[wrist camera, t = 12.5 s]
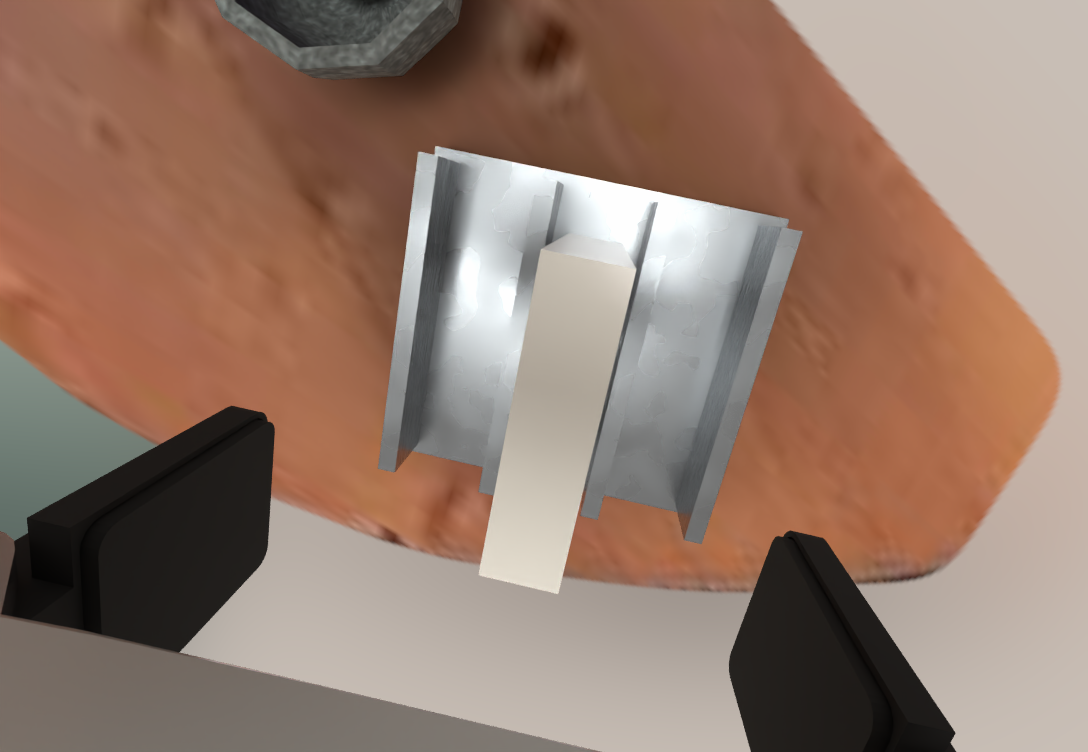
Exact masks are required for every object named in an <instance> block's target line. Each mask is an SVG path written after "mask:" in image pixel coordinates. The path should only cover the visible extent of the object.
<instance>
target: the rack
mask: <svg viewBox="0 0 1088 752" xmlns="http://www.w3.org/2000/svg"><path fill="white" fill-rule="evenodd" d="M788 222H789V219H785V218H780V217H775V216H770V215H765V214H761V213H756V212H751V211H746V210H741V209H737V208H732V207H727V206H722V205H717V204H712V203H708V202H703V201H698V200H693V199H688V198H684V197H679V196H674V195H669V194H664V193H660V192H655V191H650V190H645V189H640V188H635V187H631V186H626V185H621V184H616V183H611V182H607V181H602V180H597V179H592V178H587V177H583V176H578V175H573V174H568V173H563V172H558V171H554V170H549V169H544V168H539V167H534V166H530V165H525V164H520V163H515V162H510V161H506V160H501V159H496V158H491V157H486V156H481V155H477V154H472V153H467V152H462V151H457V150H453V149H448V148H443V147H438V146H436V147H435V154H434V155H432V154H428V153H423V152H418V158H417V166H416V174H415V182H414V190H413V198H412V206H411V213H410V221H409V229H408V237H407V245H406V253H405V261H404V268H403V276H402V284H401V292H400V300H399V308H398V316H397V323H396V331H395V339H394V347H393V355H392V363H391V371H390V379H389V386H388V394H387V402H386V410H385V418H384V426H383V434H382V441H381V449H380V457H379V465H378V469H382V470H386V471H391V472H395V471H396V470H397V469H398V468H399V467H400V465H401V464H402V463H403V462H404V460H405V459H406V458H407V457H408V455H409V454H410V453H411V452H412V451H415V452H419V453H424V454H428V455H432V456H437V457H441V458H445V459H450V460H454V461H458V462H463V463H467V464H471V465H476V466H480V467H483V470H482V476H481V481H480V487H479V492H480V493H485V494H489V495H493V496H494V492H495V487H496V482H497V476H498V471H499V466H500V461H501V455H502V450H503V445H504V440H505V434H506V429H507V424H508V419H509V413H510V408H511V403H512V398H513V393H514V387H515V382H516V377H517V372H518V366H519V361H520V356H521V351H522V345H523V340H524V335H525V330H526V324H527V319H528V314H529V309H530V304H531V298H532V293H533V288H534V283H535V277H536V272H537V267H538V262H539V256H540V251H541V249H542V248H544V247H546V246H547V245H549V244H551V243H553V242H554V241H556V240H558V239H560V238H561V237H563V236H565V235H566V234H568V233H572V234H577V235H581V236H586V237H591V238H596V239H601V240H605V241H610V242H615V243H620V244H623V245H624V247H625V249H626V251H627V253H628V254H629V256H630V258H631V260H632V262H633V264H634V265H635V267H636V274H635V278H634V282H633V286H632V290H631V294H630V298H629V303H628V307H627V311H626V315H625V319H624V323H623V327H622V332H621V336H620V340H619V344H618V348H617V352H616V356H615V361H614V365H613V369H612V373H611V377H610V381H609V385H608V390H607V394H606V398H605V402H604V406H603V410H602V414H601V419H600V423H599V427H598V431H597V435H596V439H595V443H594V448H593V452H592V456H591V460H590V464H589V468H588V472H587V477H586V481H585V485H584V489H583V493H582V503H581V515H580V516H583V517H588V518H592V519H596V520H598V516H599V513H600V509H601V505H602V501H603V497H604V495H605V496H610V497H614V498H618V499H622V500H627V501H631V502H635V503H640V504H644V505H648V506H653V507H657V508H661V509H666V510H670V511H674V512H677V513H678V517H679V521H680V525H681V529H682V534H683V538H684V540H686V541H690V542H695V543H699V544H702V541H703V538H704V535H705V532H706V529H707V526H708V522H709V519H710V516H711V513H712V510H713V507H714V504H715V501H716V498H717V495H718V492H719V488H720V485H721V482H722V479H723V476H724V473H725V470H726V467H727V464H728V461H729V458H730V455H731V451H732V448H733V445H734V442H735V439H736V436H737V433H738V430H739V427H740V424H741V421H742V418H743V414H744V411H745V408H746V405H747V402H748V399H749V396H750V393H751V390H752V387H753V384H754V380H755V377H756V374H757V371H758V368H759V365H760V362H761V359H762V356H763V353H764V350H765V347H766V343H767V340H768V337H769V334H770V331H771V328H772V325H773V322H774V319H775V316H776V313H777V309H778V306H779V303H780V300H781V297H782V294H783V291H784V288H785V285H786V282H787V279H788V276H789V272H790V269H791V266H792V263H793V260H794V257H795V254H796V251H797V248H798V245H799V242H800V239H801V235H802V231H797V230H792V229H787V225H788Z"/></svg>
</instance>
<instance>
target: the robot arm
mask: <svg viewBox="0 0 1088 752" xmlns="http://www.w3.org/2000/svg"><path fill="white" fill-rule="evenodd" d="M274 435H275V429H274V425H273V424H272V423H271V422H267V417H266V415H265V414H264V413H262V412H257V411H253V410H248V409H244V408H239V407H235V406H230V407H227V408H225V409H224V410H222V411H220V412H218V413H216V414H215V415H213V416H211V417H209V418H207V419H205V420H204V421H202V422H200V423H198V424H196V425H195V426H193V427H191V428H189V429H187V430H186V431H184V432H182V433H180V434H178V435H176V436H175V437H173V438H171V439H169V440H167V441H166V442H164V443H162V444H160V445H158V446H157V447H155V448H153V449H151V450H149V451H147V452H146V453H144V454H142V455H140V456H139V457H137V458H135V459H133V460H131V461H129V462H127V463H126V464H124V465H122V466H120V467H118V468H117V469H115V470H113V471H111V472H109V473H108V474H106V475H104V476H102V477H100V478H98V479H97V480H95V481H93V482H91V483H90V484H88V485H86V486H84V487H82V488H80V489H78V490H77V491H75V492H73V493H71V494H69V495H68V496H66V497H64V498H62V499H60V500H59V501H57V502H55V503H53V504H51V505H49V506H48V507H46V508H44V509H42V510H40V511H39V512H37V513H35V514H33V515H31V516H30V517H28V518H27V524H28V533H27V534H26V535H24V536H22V537H21V538H19V539H17V540H15V541H14V540H13V539H12V538H11V537H9V536H8V535H7V534H6V533H4V532H1V531H0V752H600V751H596V750H591V749H587V748H583V747H578V746H574V745H570V744H566V743H562V742H557V741H553V740H549V739H545V738H541V737H536V736H532V735H528V734H524V733H519V732H515V731H511V730H506V729H502V728H498V727H494V726H490V725H485V724H481V723H476V722H473V721H468V720H464V719H459V718H456V717H451V716H447V715H443V714H439V713H435V712H430V711H426V710H422V709H418V708H414V707H409V706H405V705H401V704H396V703H392V702H388V701H384V700H380V699H376V698H371V697H367V696H363V695H359V694H355V693H350V692H346V691H342V690H338V689H333V688H329V687H325V686H321V685H317V684H312V683H308V682H304V681H300V680H296V679H291V678H287V677H283V676H279V675H274V674H270V673H266V672H262V671H257V670H253V669H248V668H244V667H240V666H236V665H231V664H227V663H222V662H218V661H214V660H210V659H205V658H201V657H197V656H192V655H188V654H183V653H179V652H180V651H181V650H182V649H183V648H184V647H185V646H186V645H187V644H188V642H189V641H190V640H191V639H192V638H193V637H194V636H195V635H196V634H197V633H198V631H200V630H201V629H202V627H203V626H204V625H205V624H206V623H207V622H208V621H209V620H210V619H211V618H212V617H213V616H214V615H215V613H216V612H217V611H218V610H219V609H220V608H221V607H222V606H223V605H224V604H225V603H226V602H227V601H228V600H229V598H230V597H231V596H232V595H233V594H234V593H235V592H236V591H237V590H238V589H239V588H240V587H241V586H242V584H243V583H244V582H245V581H246V580H247V579H248V578H249V577H250V576H251V575H252V574H253V572H254V571H256V569H257V568H258V567H259V566H260V565H261V563H262V561H263V560H264V557H265V555H266V552H267V547H268V533H269V517H270V501H271V484H272V468H273V451H274ZM729 673H730V678H731V682H732V685H733V689H734V693H735V696H736V699H737V703H738V707H739V710H740V714H741V718H742V721H743V725H744V728H745V732H746V736H747V739H748V743H749V746H750V750H751V752H956V751H955V749H954V748H953V746H952V745H951V743H950V742H951V740H952V739H953V737H954V735H955V731H954V730H953V728H952V727H951V726H950V724H949V723H948V721H947V720H946V718H945V717H944V715H943V714H942V712H941V711H940V709H939V708H938V707H937V705H936V703H935V702H934V700H933V699H932V697H931V696H930V694H929V693H928V691H927V690H926V688H925V687H924V686H923V684H922V683H921V681H920V680H919V678H918V677H917V675H916V674H915V672H914V671H913V669H912V668H911V666H910V665H909V663H908V662H907V660H906V659H905V657H904V656H903V655H902V653H901V651H900V650H899V649H898V647H897V646H896V644H895V643H894V641H893V640H892V638H891V637H890V635H889V634H888V632H887V631H886V629H885V628H884V627H883V625H882V623H881V622H880V620H879V619H878V617H877V616H876V614H875V613H874V612H873V610H872V608H871V607H870V605H869V604H868V603H867V601H866V600H865V598H864V597H863V595H862V594H861V592H860V591H859V589H858V588H857V586H856V585H855V583H854V582H853V580H852V579H851V577H850V576H849V574H848V573H847V571H846V570H845V568H844V567H843V565H842V564H841V563H840V561H839V560H838V558H837V557H836V555H835V554H834V552H833V551H832V549H831V548H830V546H829V545H828V543H827V542H826V541H825V540H824V539H823V538H821V537H816V536H812V535H807V534H803V533H798V532H794V531H788V532H787V533H786V534H785V535H784V536H783V537H780V536H777V537H775V539H774V540H773V542H772V544H771V546H770V549H769V552H768V555H767V557H766V560H765V563H764V565H763V568H762V571H761V573H760V576H759V579H758V581H757V584H756V587H755V590H754V592H753V595H752V598H751V600H750V603H749V606H748V608H747V612H746V614H745V616H744V619H743V622H742V624H741V627H740V630H739V633H738V635H737V638H736V641H735V644H734V646H733V649H732V651H731V655H730V660H729Z"/></svg>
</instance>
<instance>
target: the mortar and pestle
mask: <svg viewBox="0 0 1088 752" xmlns="http://www.w3.org/2000/svg"><path fill="white" fill-rule="evenodd" d="M462 1H463V0H215V2H216V4H217V6H218V8H219V11H220V13H221V15H222V17H223V18H224V19H226V20H227V21H228V22H230V23H231V24H233V25H234V26H235V27H237V28H238V29H240V30H241V31H243V32H244V33H245V34H247V35H248V36H250V37H251V38H252V39H254V40H255V41H257V42H258V43H259V44H261V45H262V46H264V47H265V48H267V49H268V50H269V51H271V52H272V53H274V54H275V55H276V56H278V57H279V58H281V59H282V60H283V61H285V62H286V63H288V64H289V65H291V66H292V67H293V68H295V69H296V70H298V71H301V72H303V73H305V74H307V75H309V76H311V77H314V78H322V79H331V80H338V79H355V78H372V77H389V76H403V75H404V74H405V73H406V72H407V71H408V70H409V69H411V68H412V67H413V66H414V65H415V64H416V63H417V62H418V61H420V60H421V59H422V58H423V57H424V56H425V55H426V54H427V53H428V52H429V51H430V50H431V49H432V48H433V47H434V46H435V45H436V44H437V43H438V42H439V41H440V40H441V39H443V38H444V37H445V36H446V35H447V34H448V33H449V32H450V31H451V29H452V28H453V27H454V26H455V25H457V24H458V19H459V15H460V10H461V5H462Z"/></svg>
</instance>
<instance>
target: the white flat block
mask: <svg viewBox="0 0 1088 752" xmlns="http://www.w3.org/2000/svg"><path fill="white" fill-rule="evenodd" d="M635 274H636V267H635V265H634V264H633V262H632V260H631V258H630V256H629V254H628V253H627V251H626V249H625V247H624V245H623V244H620V243H615V242H610V241H605V240H601V239H596V238H591V237H586V236H581V235H577V234H572V233H568V234H566V235H565V236H563V237H561V238H560V239H558V240H556V241H554V242H553V243H551V244H549V245H547V246H546V247H544V248H542V249H541V251H540V256H539V262H538V267H537V272H536V277H535V283H534V288H533V293H532V298H531V304H530V309H529V314H528V319H527V324H526V330H525V335H524V340H523V345H522V351H521V356H520V361H519V366H518V372H517V377H516V382H515V387H514V393H513V398H512V403H511V408H510V413H509V419H508V424H507V429H506V434H505V440H504V445H503V450H502V455H501V461H500V466H499V471H498V476H497V482H496V487H495V492H494V497H493V503H492V508H491V513H490V518H489V523H488V529H487V534H486V539H485V544H484V550H483V555H482V560H481V565H480V571H479V575H480V576H484V577H488V578H492V579H497V580H501V581H505V582H509V583H513V584H518V585H522V586H526V587H531V588H535V589H539V590H544V591H547V592H552V593H556V594H558V592H559V588H560V584H561V580H562V576H563V572H564V568H565V563H566V559H567V555H568V551H569V547H570V543H571V539H572V535H573V530H574V526H575V522H576V518H577V514H578V510H579V506H580V501H581V497H582V493H583V489H584V485H585V481H586V477H587V472H588V468H589V464H590V460H591V456H592V452H593V448H594V443H595V439H596V435H597V431H598V427H599V423H600V419H601V414H602V410H603V406H604V402H605V398H606V394H607V390H608V385H609V381H610V377H611V373H612V369H613V365H614V361H615V356H616V352H617V348H618V344H619V340H620V336H621V332H622V327H623V323H624V319H625V315H626V311H627V307H628V303H629V298H630V294H631V290H632V286H633V282H634V278H635Z"/></svg>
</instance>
